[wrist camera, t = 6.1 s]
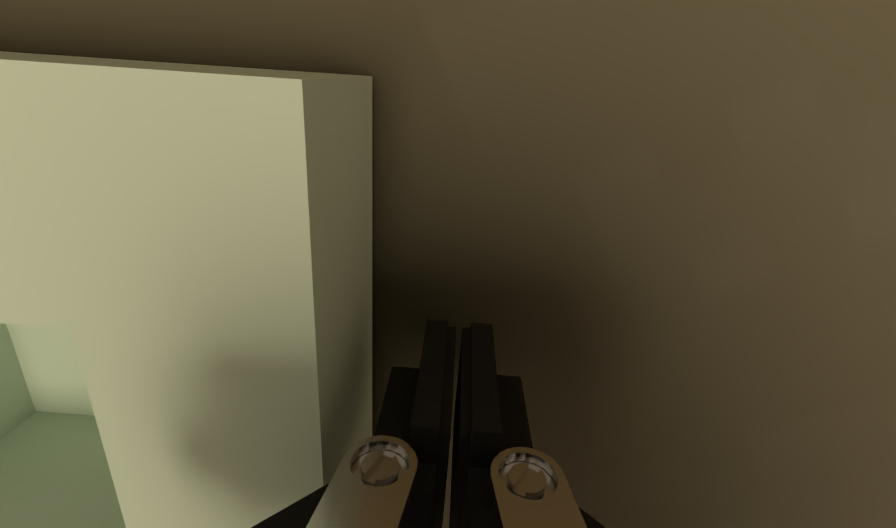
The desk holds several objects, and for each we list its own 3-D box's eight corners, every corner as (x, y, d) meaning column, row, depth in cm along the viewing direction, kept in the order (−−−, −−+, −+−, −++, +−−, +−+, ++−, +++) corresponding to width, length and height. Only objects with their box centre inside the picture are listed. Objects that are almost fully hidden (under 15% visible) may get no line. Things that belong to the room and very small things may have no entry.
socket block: (372, 76, 11) (302, 79, 6) (372, 511, 16) (333, 685, 12) (-216, 36, 11) (-702, 12, 7) (-26, 479, 16) (-219, 638, 12)
